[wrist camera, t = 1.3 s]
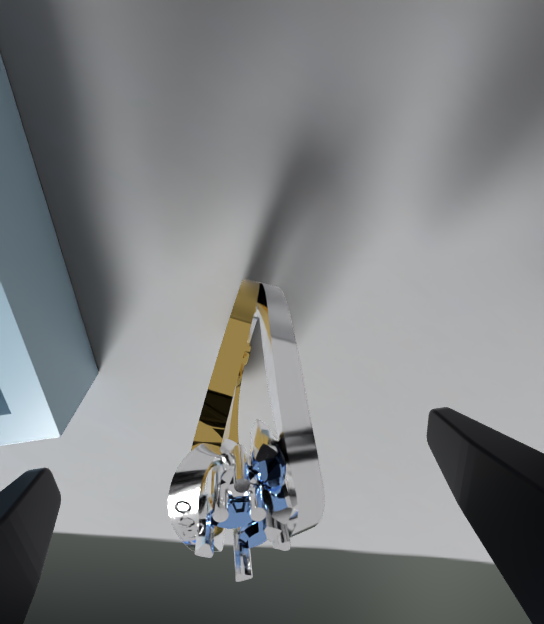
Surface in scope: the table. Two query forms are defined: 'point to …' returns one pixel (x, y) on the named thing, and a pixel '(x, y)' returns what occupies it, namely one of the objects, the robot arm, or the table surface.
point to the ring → (263, 449)
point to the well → (34, 301)
